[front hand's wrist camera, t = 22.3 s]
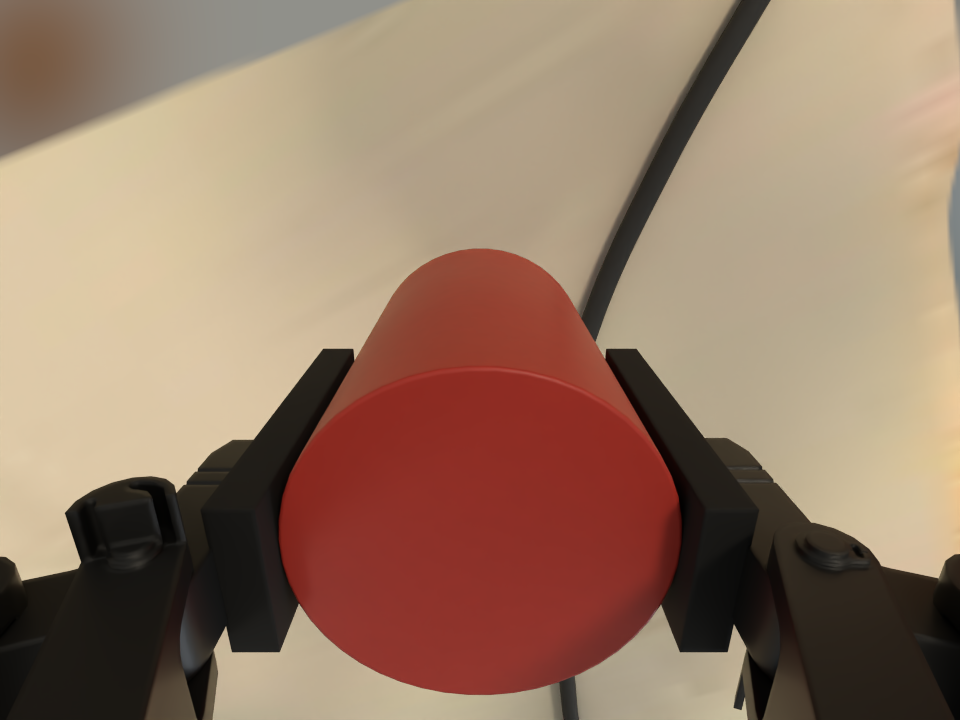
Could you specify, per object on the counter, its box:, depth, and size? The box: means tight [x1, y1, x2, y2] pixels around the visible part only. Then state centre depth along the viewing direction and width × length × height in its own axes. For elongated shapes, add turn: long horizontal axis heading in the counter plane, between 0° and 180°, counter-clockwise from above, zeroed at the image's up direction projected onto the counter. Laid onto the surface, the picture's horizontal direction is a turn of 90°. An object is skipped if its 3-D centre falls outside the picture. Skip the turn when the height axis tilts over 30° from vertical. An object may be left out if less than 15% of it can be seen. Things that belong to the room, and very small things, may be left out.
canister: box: [279, 249, 682, 695], centre depth 13 cm, size 6×6×9 cm
